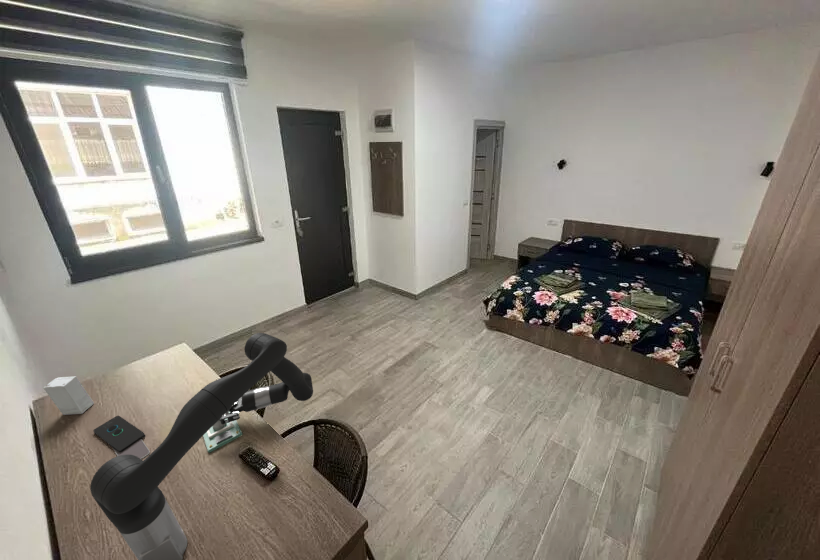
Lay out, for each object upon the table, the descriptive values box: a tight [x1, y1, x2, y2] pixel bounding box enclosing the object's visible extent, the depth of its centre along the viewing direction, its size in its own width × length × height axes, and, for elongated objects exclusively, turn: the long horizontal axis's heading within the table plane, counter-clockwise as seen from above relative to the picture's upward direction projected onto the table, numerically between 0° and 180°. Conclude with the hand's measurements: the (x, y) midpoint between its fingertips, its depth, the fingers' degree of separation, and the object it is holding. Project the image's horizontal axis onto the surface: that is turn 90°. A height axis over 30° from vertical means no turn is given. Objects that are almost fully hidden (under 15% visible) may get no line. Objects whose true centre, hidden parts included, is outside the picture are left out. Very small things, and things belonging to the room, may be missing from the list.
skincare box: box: [43, 375, 95, 416], centre depth 127 cm, size 8×6×15 cm
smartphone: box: [113, 439, 151, 460], centre depth 113 cm, size 7×1×15 cm
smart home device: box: [93, 415, 146, 452], centre depth 118 cm, size 8×2×20 cm
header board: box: [202, 411, 243, 454], centre depth 119 cm, size 18×11×2 cm, turn 40°
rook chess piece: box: [212, 419, 226, 430], centre depth 118 cm, size 4×4×8 cm
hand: (209, 411), depth 116 cm, fingers open, 8 cm apart
